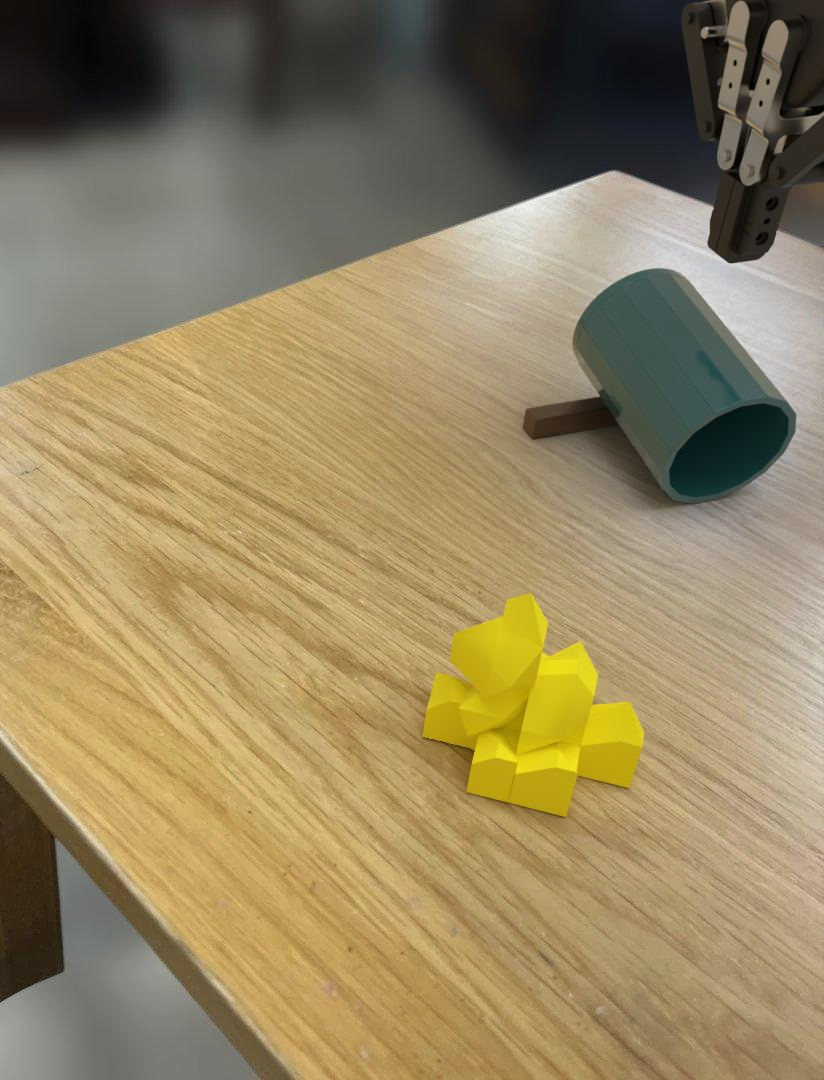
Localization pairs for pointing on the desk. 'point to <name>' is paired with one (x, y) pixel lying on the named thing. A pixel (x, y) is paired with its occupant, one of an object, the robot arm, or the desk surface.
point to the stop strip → (567, 417)
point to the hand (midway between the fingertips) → (734, 253)
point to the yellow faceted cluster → (530, 714)
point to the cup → (681, 386)
